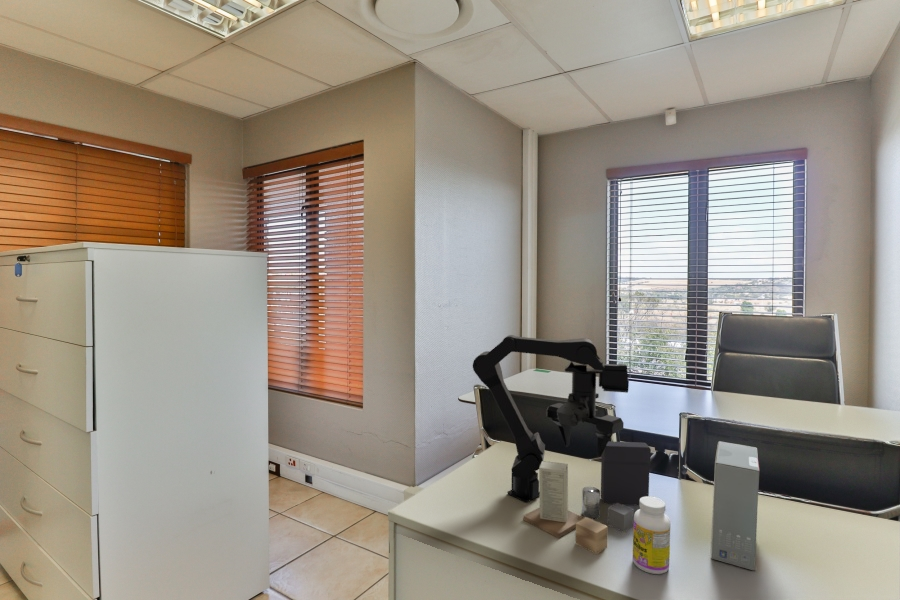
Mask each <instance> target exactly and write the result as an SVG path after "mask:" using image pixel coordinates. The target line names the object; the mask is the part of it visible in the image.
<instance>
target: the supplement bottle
mask: <svg viewBox="0 0 900 600" xmlns="http://www.w3.org/2000/svg"><path fill="white" fill-rule="evenodd" d="M638 507H639V509H637V510H636V511H635V512H634V513H633V530H632V532H633V534H632V561H633V564H634V565H635V566H636V567H637V568H638V569H640V570H641V571H643V572H645V573H647V574H652V575H661V574H662V575H663V574H665V573H667V572H668V571H669V568H670V555H671V554H670V553H671V552H670V550H671V549H670V548H671V519H670V517H669V516H668V515H667V514H665V512H666V510H667V509H666V503H665V501H664V500H662V499H661V498H659V497H654V496H651V495H650V496H645V497H642V498H640V501H639V505H638Z"/></svg>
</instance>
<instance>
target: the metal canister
mask: <svg viewBox="0 0 900 600" xmlns="http://www.w3.org/2000/svg"><path fill="white" fill-rule="evenodd" d="M581 491H582V492H581V493H582V494H581V495H582V496H581V498H582V500H581V516H582V517H584V518H585V517H588V518H590V519H592V520H597V518H598V519H599V518H600V517H599V516H600V514H601V513H600V511H601V510H600V509H601V508H600V507H601V502H600V501H601V489H598V488H597V487H594V486H584V487H583V488H582V490H581Z"/></svg>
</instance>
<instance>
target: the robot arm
mask: <svg viewBox="0 0 900 600" xmlns="http://www.w3.org/2000/svg"><path fill="white" fill-rule="evenodd" d="M511 353H522V354H529V355H531V354H532V355H541V356H550V357H558V358H562V359H564V360H567V361H569V364H567V365H566V366H565V367H564V372H566V373H572V374H571V375H572V376H571V393H568V396H567V401H566V402H565V403H562V402H557V403H553V404H551V405H548V407H547V409H546V417H547V418H550V421H552V422H553V423H555V424H556V425H557V427H558V429H559V432H560V435H561V437H562V440H563V443H564V446H565V447H566V448H567V447H569V446H570V442H571V434H572V427H576V426H577V425H578V424H579V423H589V424H592V425H595V428H596V429H597V430H595V432H594V433H595V435H596V436H597V443H596V457H597V458H601V457H602V453H603V451H604V449H605V447H606V445H607V443H608V441H610V439H611V437H613V435H614V434H617V433H619V432H622V431H623V430H624V421H623V420H622V418H621V417H618V416H615V415H609V414H606V415H604V416H601V417H600V416H596V415H598V414H599V409H596V405H597V404H596V403H597V401H596V399H599V397H600V396H599V393H597V374H598V387H599V388H601V389H602V391H603V392H611V393H613V392H614V393H625V394H627V393H628V392H629V387H630V383H629V382H630V380H629V376H628V374H629V373H628V365H627V364H626V363H620V364H615V363H614V364H612V363H610V364H609V363H604V362H603V359H602V358H601V357H600V356H599V355H598V351H597V346H596V344H595V343H594V342H593V341H592V340H591V339H589V338H585V337H584V338H571V339H564V340H554V339H544V338H535V337H525V336H517V335H516V336H515V335H513V334H509V335H507V336H505V337H504V338H503V339H502V341H501V342H499V343H498V344H497V345H495V346H494V347H493V348H492V349H490V351H488V350H487V351H486V350H485V351H483V352H482V353H480V354H478V356H476V357H475V359H473V361H472V369H473V370H472V371H473V372H474V373H475V375H476V376H477V377H478V378H479V380H480V382H481V383H483V385H485V387H486V388H488V389H489V391H490V393H491V395H492V396H493V399H494V401H495V403H496V405H497V407H498V409H499V410H500V412H501V415H502V416H503V419H504V421H505V422H506V424H507V426H508V429H509V430H510V433H511V434H512V436H513V438H514V441H515V447H516V453H517V455H516V456H515V458H514V460H513V463H512V466H511V489H510V490H507V495H509V496H512V497H513V498H516V499H517V500H520V501H522V502H524V503H528V502H530V501H532V500H534V499H536V498H539V497H540V486H539V473H538V472H537V471H538V470H539V467H540V464H541V462H542V461H544V460H545V454H546V453H545V448H546V444H545V443H544V442H543V441H542V438H541V436H540V433H539V432H538V431H537V432H535V433H533V432H532V431H531V430H530V429H529V428H528V426H527V424H526V422H525V421H524V418H523V416H522V415H521V414H522V413H520V410H519V409H518V406H517V404H516V402H515V400H514V398H513V396H512V394H511V393H510V391H509V388H508V387H507V385H506V383H505V380H504V376H503V371H502V367H501V364H500V362H501V361H502V360H504V359H505V358H506V357H507V356H509V355H510V354H511ZM576 363H577V364H576ZM587 366H589V367H590V368H589V367H587Z"/></svg>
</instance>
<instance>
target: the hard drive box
mask: <svg viewBox="0 0 900 600" xmlns="http://www.w3.org/2000/svg"><path fill="white" fill-rule="evenodd" d="M714 460H715V461H714V476H713V477H714V478H713V479H714V481H713V493H712V494H713V495H712V497H713V498H712V499H713V501H712V517H711V518H712V519H711V537H710V538H711V541H710V559H713V560H716V561H720V562H722V563H726V564H728V565H733V566H735V567H740V568H743V569H747V570H751V571H755V569H756V568H755V567H756V555H757V554H756V553H757V532H758V531H757V529H758V528H757V527H758V501H759V485H760V484H759V483H760V464H759V463H760V462H759V457H758V448H757V447H755V446H749V445H744V444H739V443H731V442H725V441H720V440H719V441H718V442H717V446H716V453H715V459H714Z"/></svg>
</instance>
